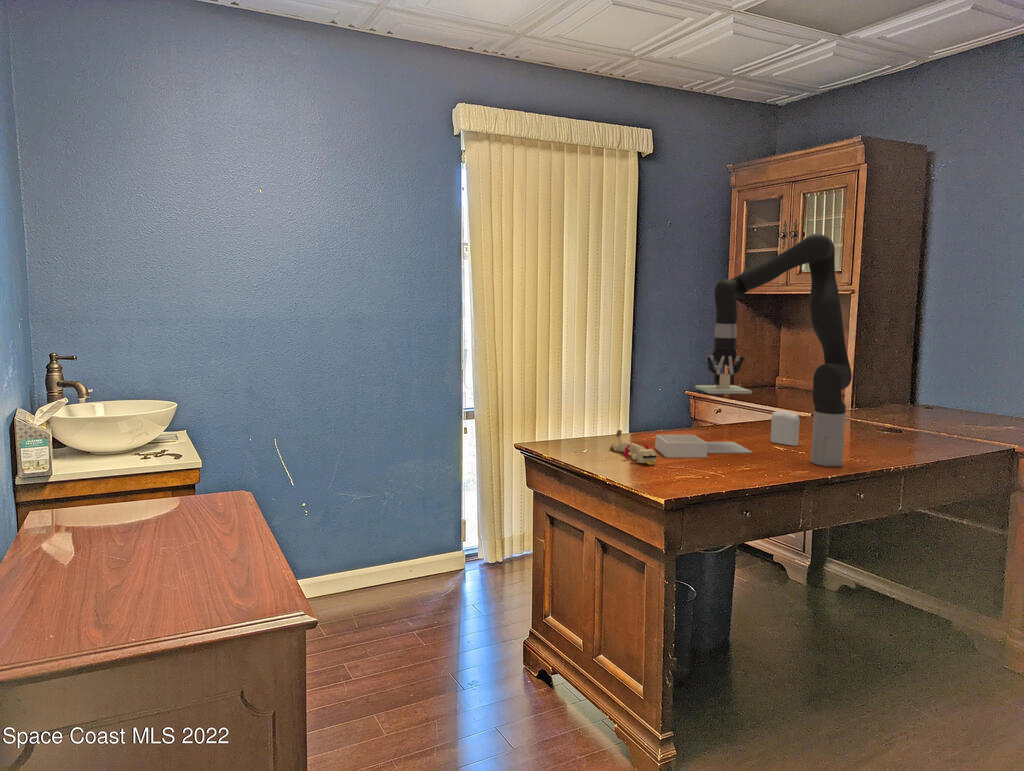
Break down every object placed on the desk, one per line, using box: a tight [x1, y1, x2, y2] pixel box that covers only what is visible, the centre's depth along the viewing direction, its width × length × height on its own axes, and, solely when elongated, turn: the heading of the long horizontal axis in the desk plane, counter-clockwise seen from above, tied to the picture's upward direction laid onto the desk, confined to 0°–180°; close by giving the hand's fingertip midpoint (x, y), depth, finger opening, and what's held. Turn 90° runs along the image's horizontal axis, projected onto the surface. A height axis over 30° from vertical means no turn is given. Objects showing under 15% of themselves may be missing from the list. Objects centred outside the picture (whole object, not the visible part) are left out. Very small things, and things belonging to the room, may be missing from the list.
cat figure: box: [609, 429, 659, 466], centre depth 237 cm, size 10×9×25 cm
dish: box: [654, 434, 708, 459], centre depth 245 cm, size 14×14×5 cm
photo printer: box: [770, 410, 800, 447], centre depth 263 cm, size 10×4×12 cm, turn 39°
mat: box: [706, 441, 753, 454], centre depth 255 cm, size 17×17×1 cm
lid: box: [694, 372, 753, 395], centre depth 252 cm, size 15×15×6 cm
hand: (723, 384), depth 252 cm, fingers closed on lid, 3 cm apart
